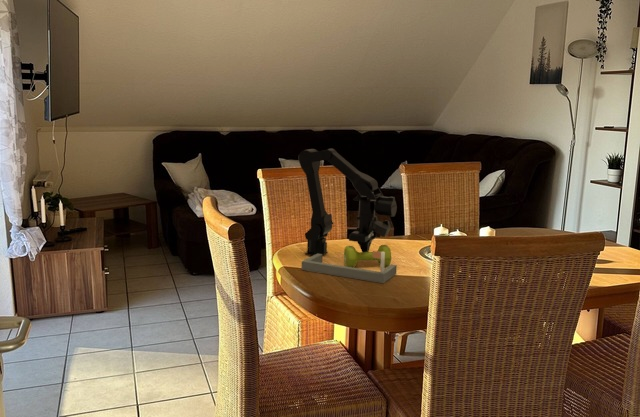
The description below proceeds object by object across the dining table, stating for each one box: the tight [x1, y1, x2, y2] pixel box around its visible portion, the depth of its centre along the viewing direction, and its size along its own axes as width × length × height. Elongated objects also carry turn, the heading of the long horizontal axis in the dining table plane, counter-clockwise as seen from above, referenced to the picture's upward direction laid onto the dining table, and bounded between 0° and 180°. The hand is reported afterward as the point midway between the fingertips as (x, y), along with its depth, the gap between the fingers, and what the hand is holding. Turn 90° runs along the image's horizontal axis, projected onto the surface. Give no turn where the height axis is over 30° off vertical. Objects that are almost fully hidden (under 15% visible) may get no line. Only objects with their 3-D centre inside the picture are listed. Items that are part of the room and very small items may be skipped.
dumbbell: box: [343, 244, 392, 268], centre depth 209 cm, size 16×8×7 cm, turn 99°
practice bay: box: [301, 250, 398, 284], centre depth 202 cm, size 30×12×10 cm, turn 63°
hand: (365, 255), depth 215 cm, fingers closed
